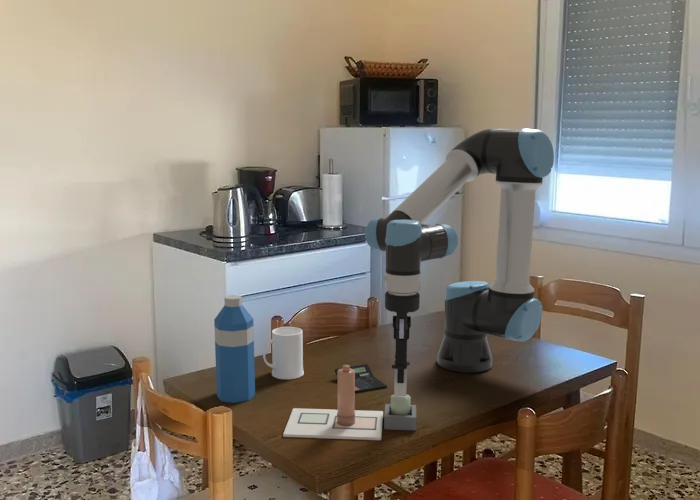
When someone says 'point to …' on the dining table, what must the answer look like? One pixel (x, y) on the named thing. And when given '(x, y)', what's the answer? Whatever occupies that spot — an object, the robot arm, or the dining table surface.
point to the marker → (346, 396)
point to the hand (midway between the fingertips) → (400, 394)
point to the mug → (286, 353)
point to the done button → (400, 405)
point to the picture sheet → (333, 425)
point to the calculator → (365, 379)
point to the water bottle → (234, 352)
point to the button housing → (400, 419)
